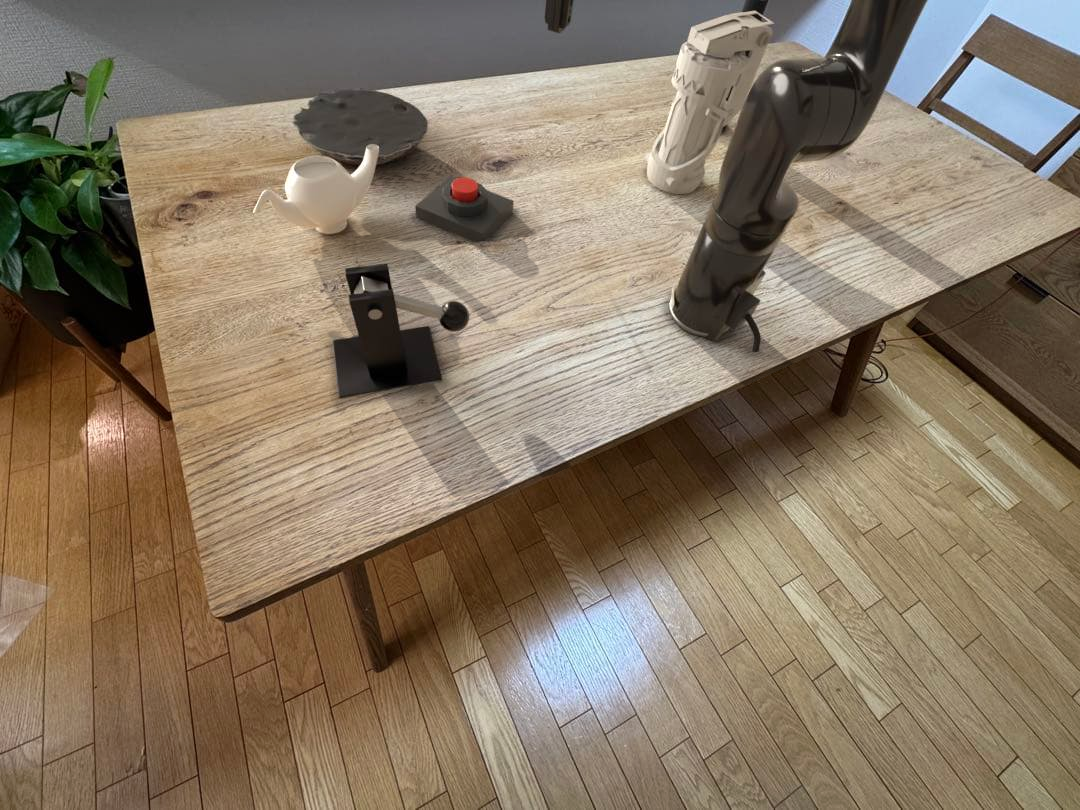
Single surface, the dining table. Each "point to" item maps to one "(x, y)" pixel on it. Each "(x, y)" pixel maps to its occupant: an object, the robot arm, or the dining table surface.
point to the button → (465, 189)
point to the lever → (422, 306)
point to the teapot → (322, 192)
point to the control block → (465, 212)
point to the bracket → (381, 342)
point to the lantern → (706, 96)
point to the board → (361, 125)
